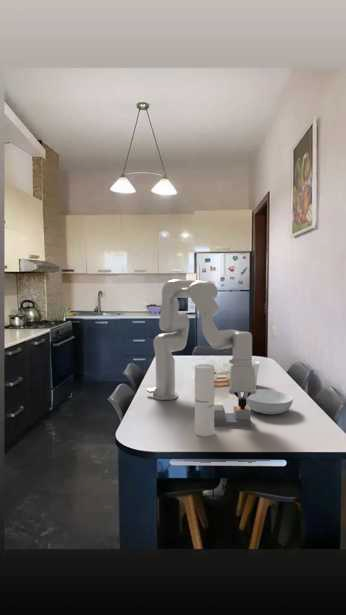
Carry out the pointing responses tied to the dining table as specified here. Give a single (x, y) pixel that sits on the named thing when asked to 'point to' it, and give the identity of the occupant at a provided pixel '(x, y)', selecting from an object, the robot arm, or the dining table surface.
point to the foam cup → (256, 368)
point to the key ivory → (218, 406)
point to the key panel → (232, 418)
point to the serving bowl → (269, 401)
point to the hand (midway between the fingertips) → (242, 408)
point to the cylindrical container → (204, 399)
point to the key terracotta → (241, 409)
